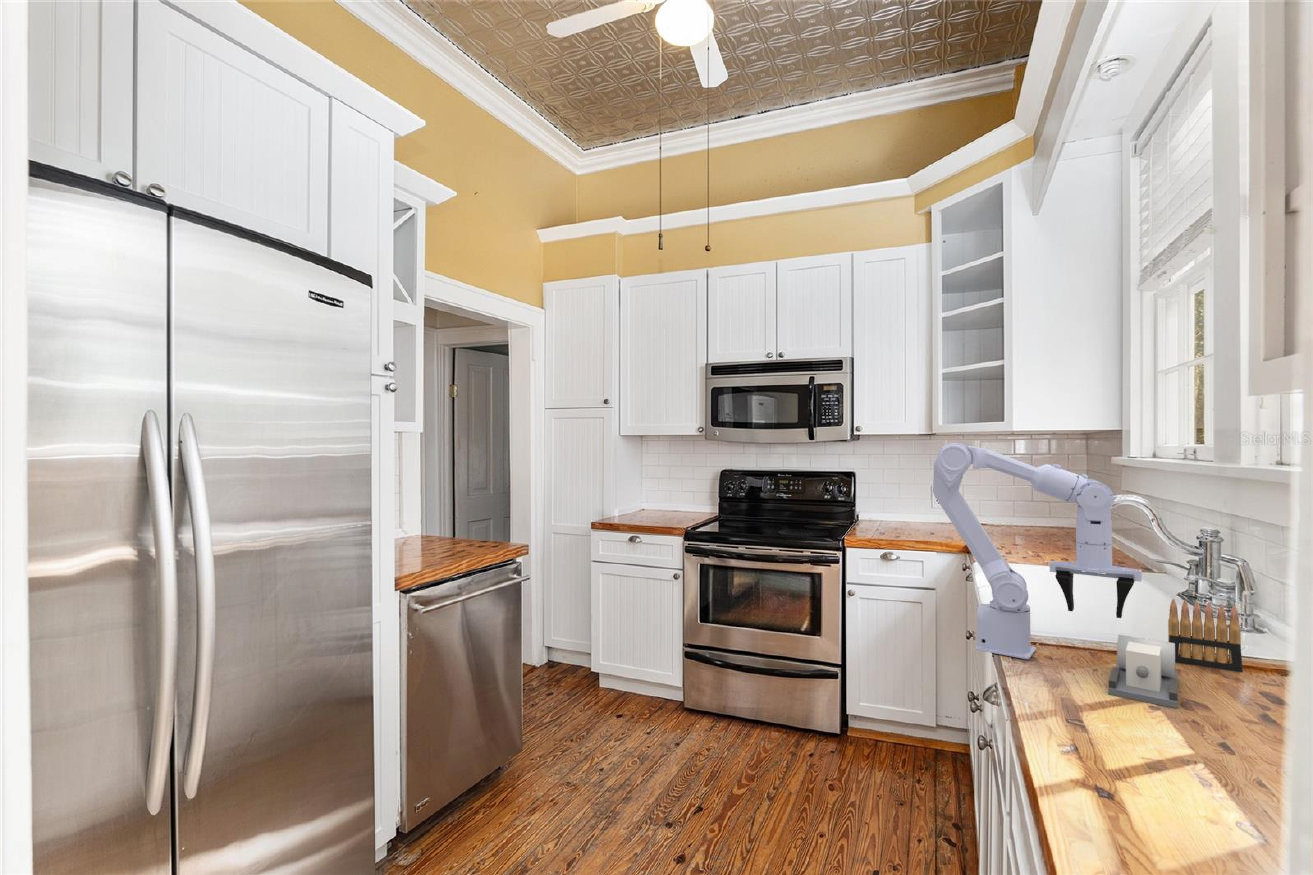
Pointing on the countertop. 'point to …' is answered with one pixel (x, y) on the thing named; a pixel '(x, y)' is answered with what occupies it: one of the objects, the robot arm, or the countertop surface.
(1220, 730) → the countertop surface
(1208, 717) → the countertop surface
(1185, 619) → the ammunition clip
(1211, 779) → the countertop surface
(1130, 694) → the motor mount
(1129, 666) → the block
